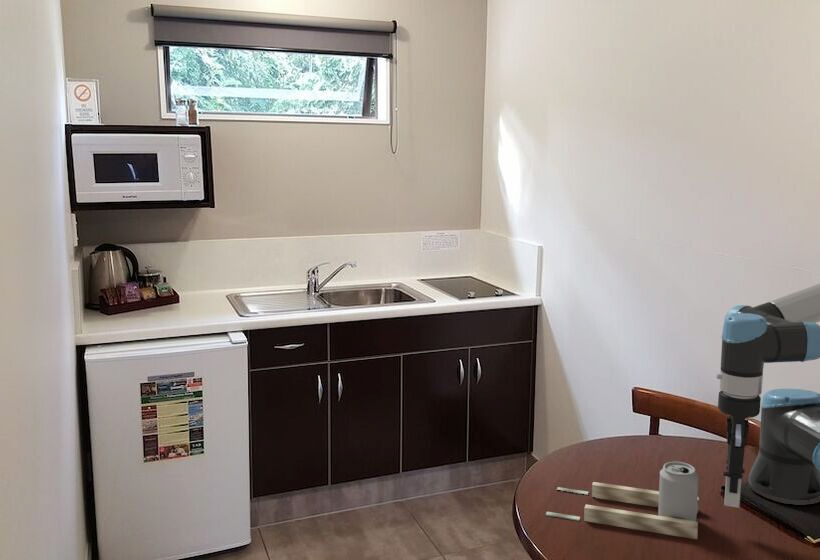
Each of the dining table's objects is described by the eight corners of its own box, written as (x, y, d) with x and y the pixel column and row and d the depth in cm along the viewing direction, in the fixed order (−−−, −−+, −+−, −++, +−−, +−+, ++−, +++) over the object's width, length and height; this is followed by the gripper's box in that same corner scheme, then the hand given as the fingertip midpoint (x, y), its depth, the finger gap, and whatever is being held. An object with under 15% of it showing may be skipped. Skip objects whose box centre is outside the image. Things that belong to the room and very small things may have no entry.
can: (699, 531, 147) (702, 476, 145) (660, 528, 148) (662, 473, 146) (692, 513, 154) (695, 460, 152) (655, 510, 156) (657, 458, 153)
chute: (698, 509, 156) (698, 496, 155) (697, 540, 144) (697, 526, 143) (557, 488, 167) (557, 476, 166) (545, 515, 155) (545, 502, 154)
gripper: (718, 380, 149) (711, 488, 154) (719, 401, 137) (711, 516, 142) (758, 384, 147) (750, 493, 151) (763, 406, 135) (754, 523, 139)
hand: (731, 504), depth 146 cm, fingers closed
